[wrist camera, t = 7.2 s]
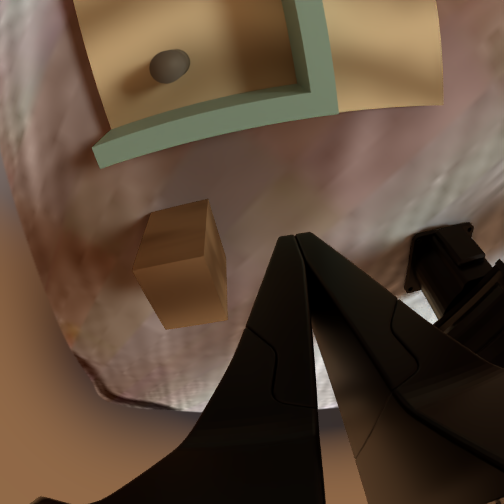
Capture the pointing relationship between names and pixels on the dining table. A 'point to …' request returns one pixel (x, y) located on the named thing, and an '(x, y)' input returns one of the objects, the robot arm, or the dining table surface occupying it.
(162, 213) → the block
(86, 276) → the dining table surface
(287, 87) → the housing
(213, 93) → the board
